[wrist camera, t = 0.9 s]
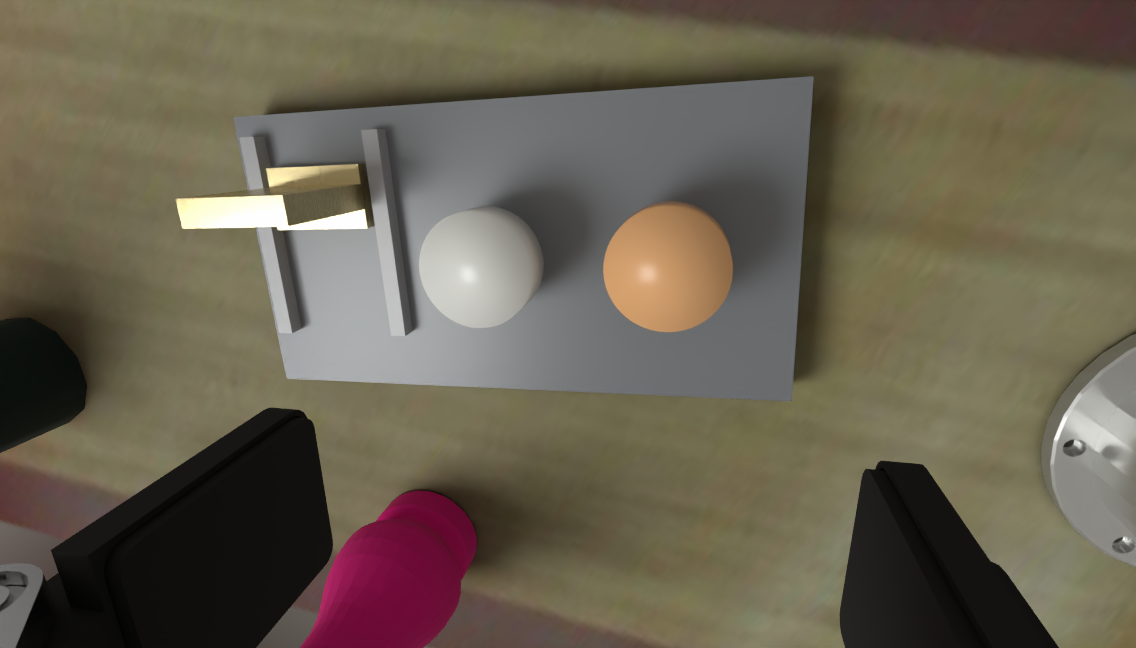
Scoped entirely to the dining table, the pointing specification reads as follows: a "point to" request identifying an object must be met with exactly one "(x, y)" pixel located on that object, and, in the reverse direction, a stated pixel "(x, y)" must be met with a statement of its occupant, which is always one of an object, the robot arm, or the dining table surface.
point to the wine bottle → (36, 382)
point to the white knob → (481, 266)
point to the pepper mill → (397, 577)
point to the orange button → (668, 267)
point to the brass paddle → (289, 201)
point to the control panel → (545, 236)
